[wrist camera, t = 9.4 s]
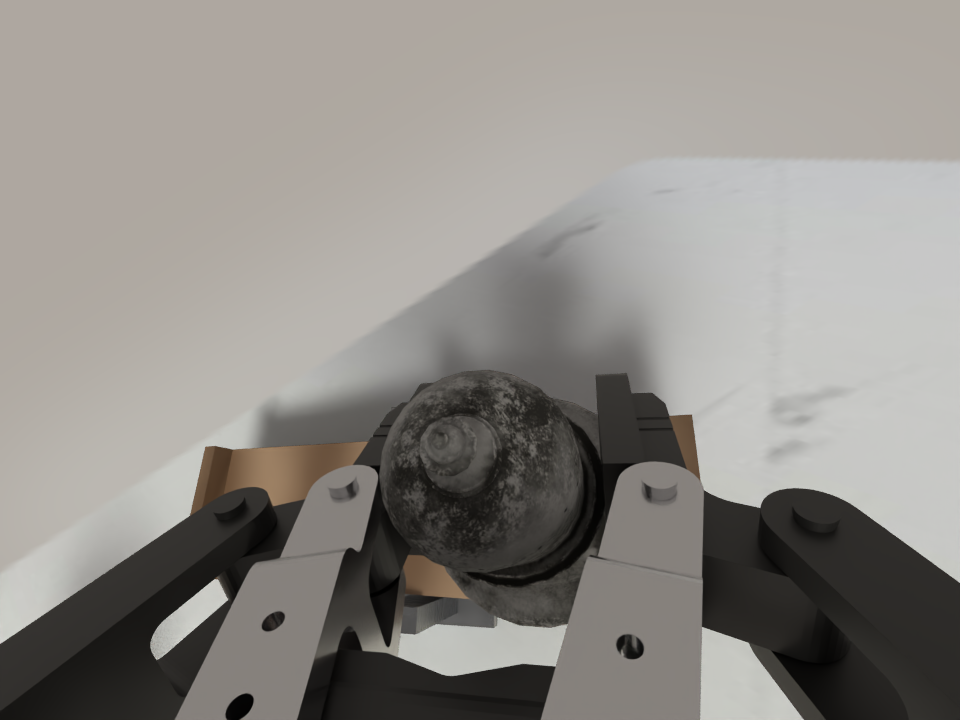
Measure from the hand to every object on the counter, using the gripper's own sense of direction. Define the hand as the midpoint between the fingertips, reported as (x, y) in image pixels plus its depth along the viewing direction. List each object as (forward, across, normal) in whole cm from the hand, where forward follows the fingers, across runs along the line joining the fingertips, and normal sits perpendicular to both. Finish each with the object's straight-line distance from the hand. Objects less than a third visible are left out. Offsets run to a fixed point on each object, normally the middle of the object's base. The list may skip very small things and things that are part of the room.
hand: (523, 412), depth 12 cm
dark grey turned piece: (+2, 0, +5) cm, 6 cm away
